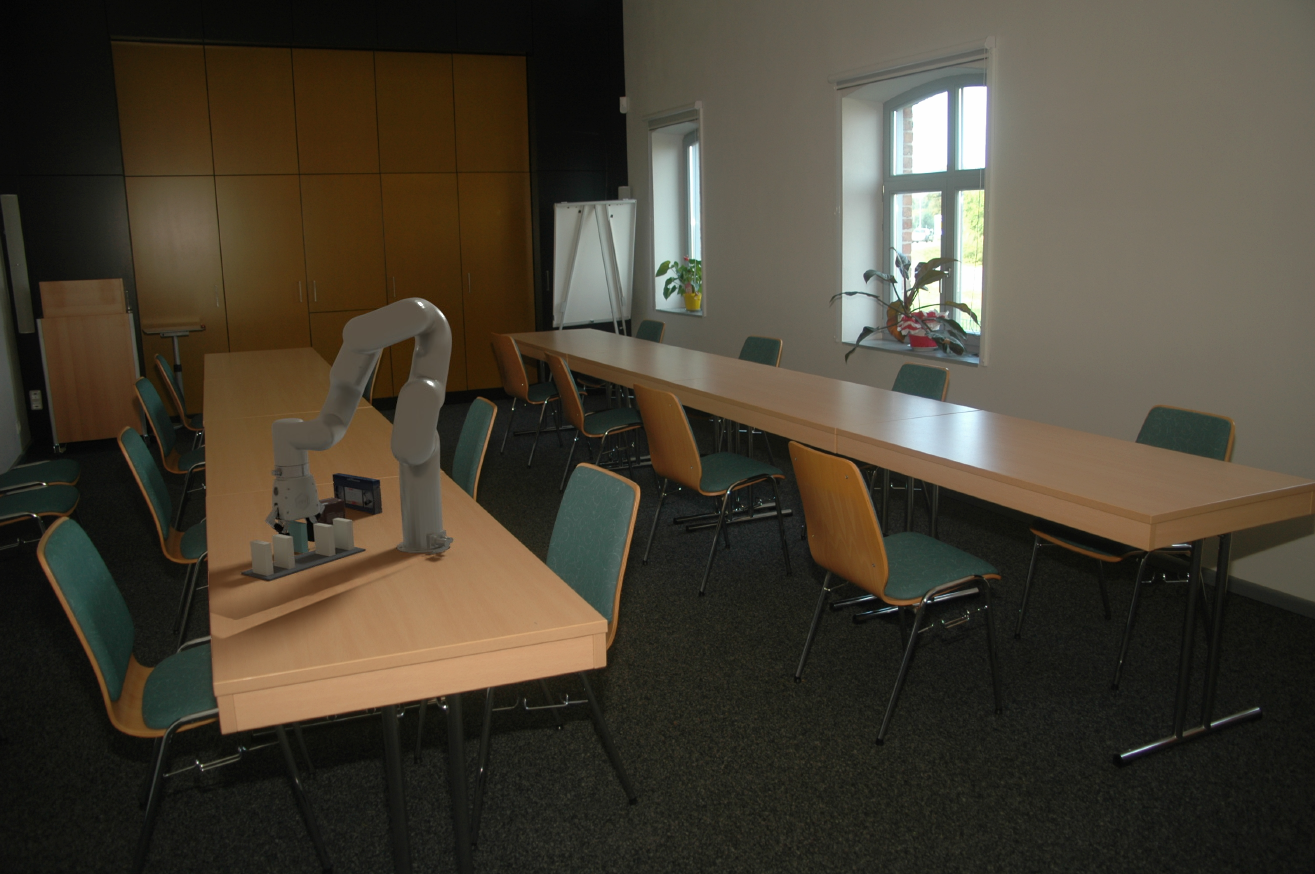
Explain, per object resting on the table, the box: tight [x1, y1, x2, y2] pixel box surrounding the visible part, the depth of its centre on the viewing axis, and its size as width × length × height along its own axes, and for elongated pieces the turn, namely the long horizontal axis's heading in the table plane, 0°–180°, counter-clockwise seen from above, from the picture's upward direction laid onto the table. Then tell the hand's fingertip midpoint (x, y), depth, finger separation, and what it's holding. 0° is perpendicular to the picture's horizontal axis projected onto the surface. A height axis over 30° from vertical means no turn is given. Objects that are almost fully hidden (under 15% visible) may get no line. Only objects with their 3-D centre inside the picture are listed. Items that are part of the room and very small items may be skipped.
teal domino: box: [287, 520, 310, 554], centre depth 221 cm, size 2×5×7 cm, turn 58°
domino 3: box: [313, 523, 335, 556], centre depth 216 cm, size 2×5×7 cm, turn 58°
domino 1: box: [249, 539, 274, 576], centre depth 202 cm, size 2×5×7 cm, turn 58°
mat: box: [240, 546, 366, 582], centre depth 212 cm, size 10×26×1 cm, turn 148°
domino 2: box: [271, 533, 295, 569], centre depth 207 cm, size 2×5×7 cm, turn 58°
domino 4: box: [333, 518, 355, 550], centre depth 221 cm, size 2×5×7 cm, turn 58°
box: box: [317, 496, 347, 525], centre depth 241 cm, size 6×6×7 cm
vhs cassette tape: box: [332, 472, 383, 516], centre depth 259 cm, size 18×3×10 cm, turn 53°
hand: (298, 544), depth 221 cm, fingers open, 6 cm apart
